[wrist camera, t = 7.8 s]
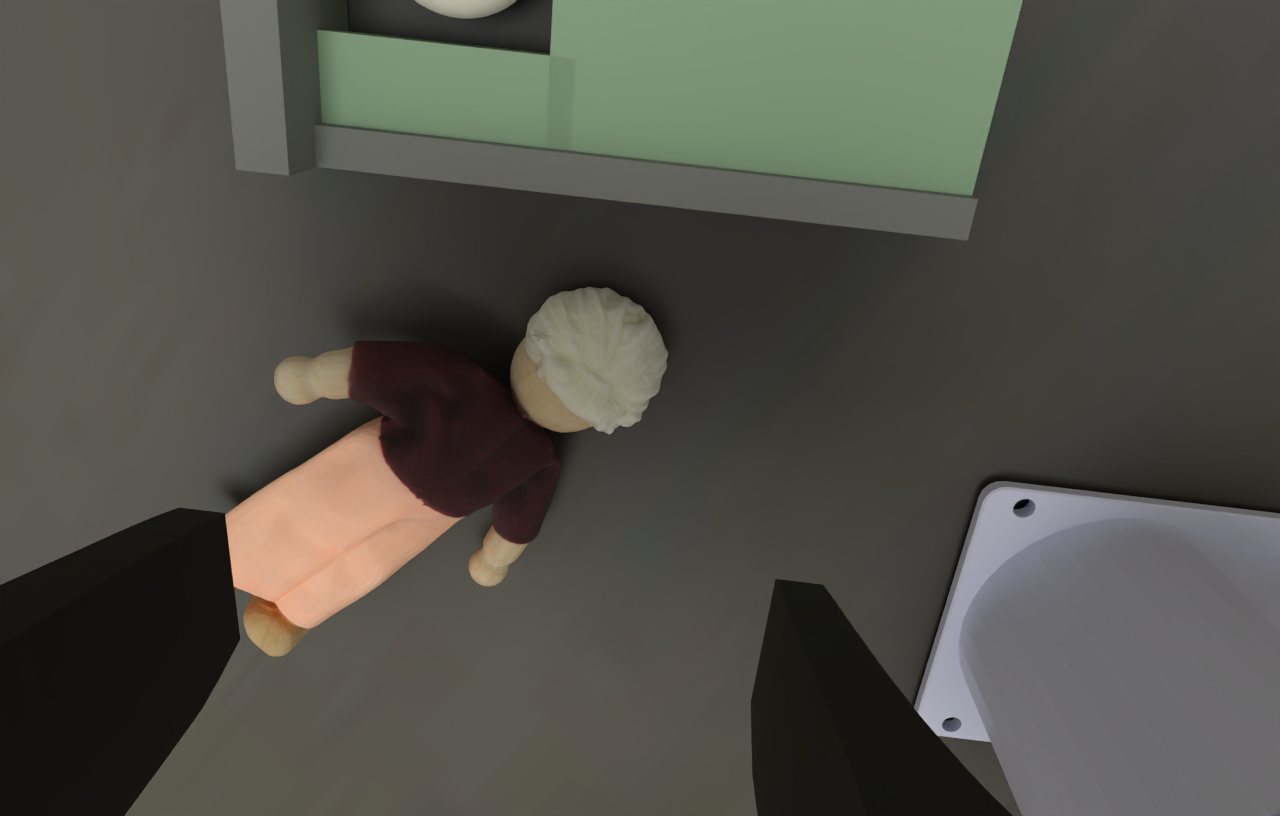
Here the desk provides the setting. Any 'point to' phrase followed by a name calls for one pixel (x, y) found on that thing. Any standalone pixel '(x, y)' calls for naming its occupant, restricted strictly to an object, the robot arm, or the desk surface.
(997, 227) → the desk surface
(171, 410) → the desk surface
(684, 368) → the desk surface
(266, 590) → the grandmother figurine
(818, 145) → the green walled tray
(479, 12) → the ball
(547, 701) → the desk surface
